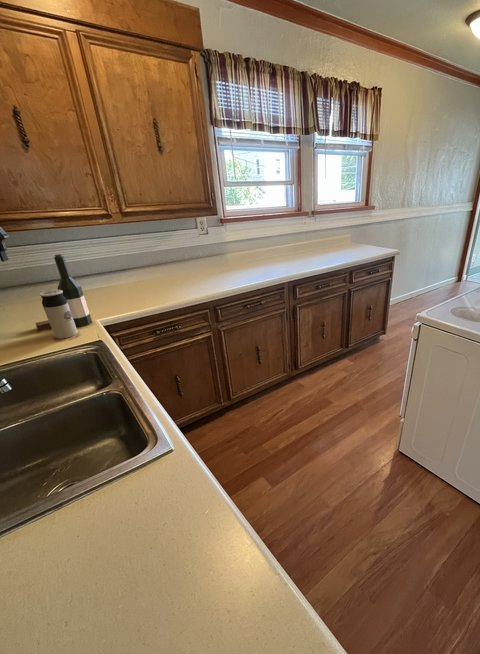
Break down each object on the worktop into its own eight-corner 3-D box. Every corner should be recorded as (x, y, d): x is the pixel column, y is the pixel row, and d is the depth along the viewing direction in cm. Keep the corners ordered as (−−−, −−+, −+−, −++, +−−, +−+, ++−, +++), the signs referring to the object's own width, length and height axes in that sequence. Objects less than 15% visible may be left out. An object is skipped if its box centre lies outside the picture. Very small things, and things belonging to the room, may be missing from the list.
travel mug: (50, 337, 131) (33, 294, 123) (68, 330, 138) (53, 288, 130) (64, 340, 129) (48, 296, 121) (82, 332, 136) (68, 290, 128)
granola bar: (38, 330, 138) (36, 325, 137) (37, 327, 141) (35, 322, 140) (71, 323, 144) (69, 318, 143) (69, 321, 148) (67, 316, 146)
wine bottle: (96, 321, 147) (75, 253, 133) (81, 328, 140) (56, 257, 126) (82, 319, 149) (59, 252, 135) (65, 326, 142) (40, 256, 128)
